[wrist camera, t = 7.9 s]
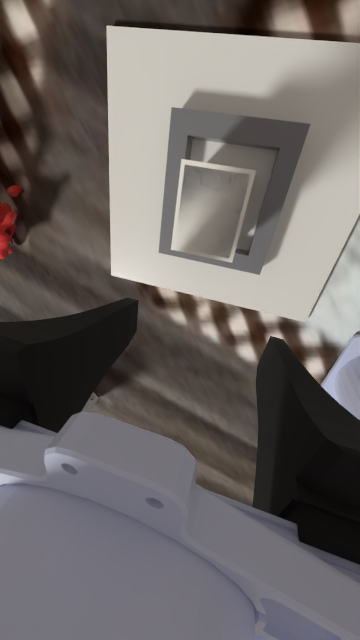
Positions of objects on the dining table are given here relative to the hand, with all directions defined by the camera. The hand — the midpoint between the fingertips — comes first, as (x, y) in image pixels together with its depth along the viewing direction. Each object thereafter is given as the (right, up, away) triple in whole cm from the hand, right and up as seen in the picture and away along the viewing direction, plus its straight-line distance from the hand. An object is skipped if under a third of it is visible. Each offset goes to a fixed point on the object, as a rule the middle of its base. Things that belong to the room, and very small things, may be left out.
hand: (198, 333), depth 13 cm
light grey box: (+2, +9, +5) cm, 10 cm away
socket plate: (+2, +10, +5) cm, 11 cm away
